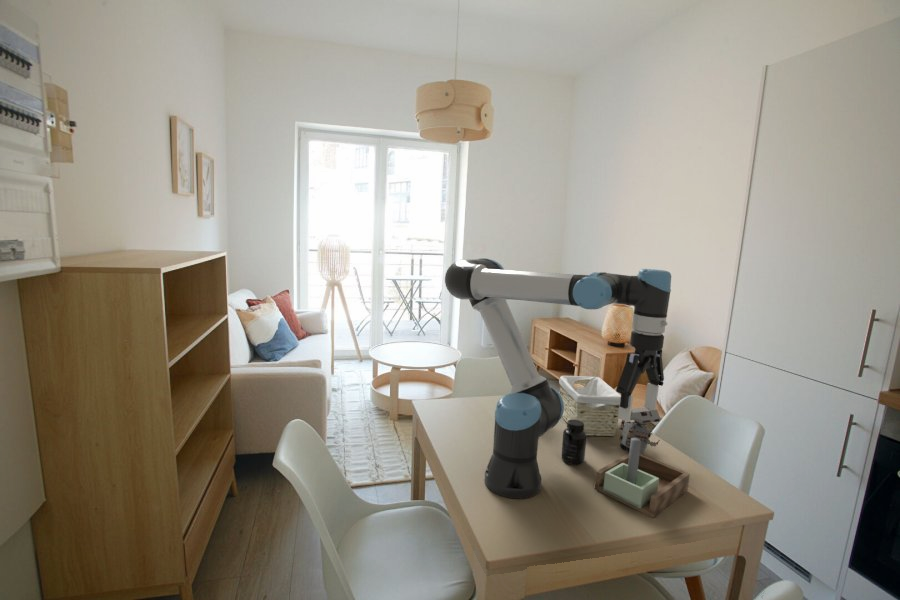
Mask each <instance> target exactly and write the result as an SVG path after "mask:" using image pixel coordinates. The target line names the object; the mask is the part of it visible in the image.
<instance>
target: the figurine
mask: <svg viewBox="0 0 900 600" xmlns="http://www.w3.org/2000/svg"><path fill="white" fill-rule="evenodd" d="M660 421H661V415H660V414H659V412H658V409H656V410H652V409H649V408H646V407H640V408H632V409H631V417H630V422H627V421H624V420H621V423H620V426H619V430H621V434H620V436H619V441H620V445H619V447H620V448H621V449H623V450H624V449H625V450H626V449H629V450H630V443H631V438H638V439H640V440H641V445H640V454H642V455H644V453H645V451H646V449H647V446H648V445H649V446H651V447H657V446H658V445H659V441H660V439H658V441H657V442H655V441H650V438H651V436H652V433H653V431H652V430H650V429H649V428H648V427H647V424H650V423H659V422H660Z"/></svg>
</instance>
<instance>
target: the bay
mask: <svg viewBox="0 0 900 600" xmlns="http://www.w3.org/2000/svg"><path fill="white" fill-rule="evenodd" d="M628 461H629V453H627V454H626V455H624V456H621V457H619V458H618V459H616V460H614V461H612V462H611V463H609V464H608V465H605V466H603V467H602V468H600V469H598V470H596V471H595V480H594V490H596V491H598V492H600V493H601V494H604V495H606V496H608V497H610V498H612V499H614V500H616V501H618V502H620V503H623V504H624V505H627V506H628V507H630V508H632V509H634V510H636V511H639V512H640V513H643V514H644V515H647V516H649V517H650V518H653V519H654V518H655V517H656V516H658V515H660V514H661V513H662V512H663V511H664V510H666V508H668V507H669V506H670V505H671V504H673V503H675V501H677V500H678V499H680V498H681V497H682V496H683V495H684V494H686V493H687V492H688V491H689V483H690V482H689V481H690V475H691V474H690V473H689V472H686V471H684V470H681V469H679V468H676V467H673V466H671V465H668V464H666V463H664V462H661V461H658V460H656V459H654V458H651V457H649V456H646V455H644V454H643V455H642V454H639V463H638V469H639V470H641V471H643V472H646V473H648V474H650V475H653V476H655V477H657V478H659V483H658V491H657V493H655V494H654V495H652V496H651V499H650V502H648V503H647V504H646V505H644V506H643V507H642V508H638V507H636V506H634V505H632V504H630V503H628V502H626V501H624V500H622V499H620V498H617V497H615V496H613V495H611V494H609V493H607V492H605V491H603V488H604V478H605V472H607V471H609V470H610V469H612V468H614V467H616V466H618V465H619V464H621V463H625V464H627V465H628Z"/></svg>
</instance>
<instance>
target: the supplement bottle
mask: <svg viewBox="0 0 900 600" xmlns="http://www.w3.org/2000/svg"><path fill="white" fill-rule="evenodd" d="M583 430H584V423H583V422H582V421H579V420H574V419H573V420H569V421H568V422H566V428H564V430H563V431H562V443H561V460H562V462H564V463H566V464H568V465H572V466H579V465H582V464H584V462H585V460H586V459H585V457H586V447H587V435H586V433H585V432H584V431H583Z"/></svg>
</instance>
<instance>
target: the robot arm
mask: <svg viewBox="0 0 900 600" xmlns="http://www.w3.org/2000/svg"><path fill="white" fill-rule="evenodd" d="M444 275H445V276H444V284H445V288H446V289H447V291H448V292H449V294H450V295H451V296H452V297H454V298H456V299H459V300H468V301H469V303H470V304H471V307H472V310H475V311H478V312H479V313H480V315H481V318H482V320H483V322H484V324H485V327H486V330H487V332H488V334H489V336H490V339H491V341H492V343H493V346H494V348H495V350H496V353H497V355H498V357H499V359H500V362H501V365H502V367H503V369H504V371H505V375H506V376H507V378H508V381H509V382H510V385H511V388H510V391H509V393H508V394H506V395H503V396H501V397H500V398H499V399H498V401H497V403H496V405H495V406H496V407H495V412H494V429H493V447H492V448H493V449H492V455H491V457H490V459H489V462H488V464H487V466H486V469H485V471H484V484H485V486H486V487H487V488H488V489H489V490H490V491H491V492H492V493H495V494H496V495H498V496H501V497H504V498H508V499H517V500H518V499H529V498H532V497H535V496H536V495H538V494H539V493H540V491H541V489H542V483H543V482H542V475H541V473H540V469H539V463H538V459H537V458H538V449H539V448H538V447H539V439H540V437H542V436H543V435H545V433H546V432H548V431H549V430H551V429H553V428H554V427H555V426H556V425H557V424H558V423H559V421H560V420H561V419H562V418H563V417H562V415H563V412H564V403H563V399H562V397H561V395H560V394H559V393H560V391H558V390H557V389H555V388H553V387H552V386H551V385H550V384H549V381H548V379H547V378H546V377H545V376H542V375H540V374H539V372H538V370H537V368H536V365H534V363H535V362H534V361H533V358H532V356H531V353H530V351H529V350H528V347H527V345H526V343H525V340H524V337H523V336H522V334H521V331H520V328H519V326H518V325H517V322H516V320H515V318H514V316H513V313H512V312H511V308H510V307H509V305H508V302H507V300H516V301H527V302H537V303H544V304H555V305H556V304H557V305H566V306H575V307H580V308H581V309H585V310H599V309H602V308H603V307H605V306H610V305H612V304H614V305H623V306H630V307H631V306H632V307H634V308H633V309H634V310H633V314H632V315H633V316H632V322H631V323H632V324H631V329H632V331H631V333H630V341H629V345H630V346H631V347H633V348H634V352H633V353H630V352H628V353H627V355H626V359H625V363H624V367H623V370H622V372H621V375H620V378H619V380H618V383H617V386H616V390H615V391H616V392H618V393H619V394H620V395H621V398H620V406H619V414H618V418H619V419H618V420H621V421H622V420H624V421H625V422H630V421H631V420H630V417H631V409H633V408H632V407H633V400H634V395H632V394H633V391H634V390H635V389H636V388H635V387H636V385H637V383H638V382H639V379H640V377H641V376H642V374H644V373H645V372H646V376H647V379H648V383H647V384H646V389H645V390H646V391H645V399H644V406H643V408H649V409H652V410H657V403H658V395H659V388H660V387H659V386H661V387H662V386H663V385H664V380H665V376H664V366H663V348H664V343H665V341H664V340H665V335H664V333H665V332H666V331H665V330H666V326H668V322H667V317H668V310H669V304H670V296H671V292H672V290H671V285H672V284H671V283H672V274H671V272H670V271H667V270H663V269H653V268H652V269H651V268H640V269H639V271H638V274H637V275H628V274H627V275H626V274H620V273H619V274H617V273H610V272H605V271H604V272H602V271H601V272H597V271H596V272H591V273H590V274H572V273H571V274H570V273H557V272H555V273H554V272H542V271H541V272H540V271H529V270H527V271H526V270H525V271H524V270H513V269H505V268H504V267H503V265H502V264H500V263H499V262H498V261H496V260H493V259H489V258H475V259H471V258H470V259H469V258H468V259H466V258H464V259H459V260H457V261H454V262H453V263H452V264H450V266H449V267H448V268H447V270H446V271H445V274H444ZM533 362H534V363H533Z"/></svg>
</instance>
